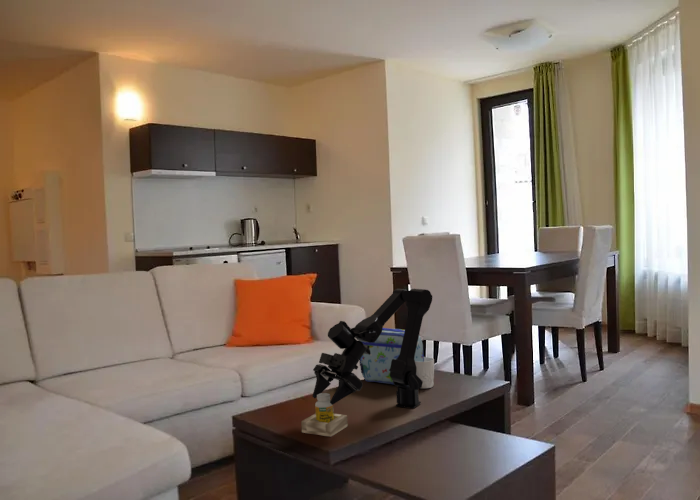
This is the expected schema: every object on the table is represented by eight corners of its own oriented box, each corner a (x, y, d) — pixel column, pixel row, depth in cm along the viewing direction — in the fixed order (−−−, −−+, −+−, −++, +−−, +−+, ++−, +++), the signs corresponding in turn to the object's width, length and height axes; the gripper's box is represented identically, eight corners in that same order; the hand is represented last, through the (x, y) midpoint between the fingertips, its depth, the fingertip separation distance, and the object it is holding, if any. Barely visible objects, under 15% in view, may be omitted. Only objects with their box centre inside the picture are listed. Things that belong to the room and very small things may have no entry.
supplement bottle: (332, 422, 185) (330, 391, 185) (336, 427, 180) (334, 395, 180) (314, 424, 184) (313, 393, 184) (318, 430, 179) (316, 397, 178)
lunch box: (356, 380, 238) (354, 327, 237) (373, 375, 246) (371, 323, 245) (410, 390, 221) (408, 333, 220) (427, 383, 229) (425, 328, 228)
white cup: (437, 384, 227) (436, 357, 226) (430, 389, 220) (429, 362, 219) (418, 382, 230) (417, 356, 230) (410, 388, 223) (409, 361, 223)
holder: (347, 426, 184) (347, 415, 184) (330, 436, 175) (330, 425, 175) (319, 422, 189) (318, 411, 189) (301, 432, 180) (301, 421, 180)
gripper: (316, 338, 191) (288, 379, 185) (352, 346, 176) (323, 391, 170) (338, 359, 196) (311, 400, 190) (374, 368, 182) (347, 413, 175)
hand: (322, 400), depth 181 cm, fingers open, 9 cm apart
